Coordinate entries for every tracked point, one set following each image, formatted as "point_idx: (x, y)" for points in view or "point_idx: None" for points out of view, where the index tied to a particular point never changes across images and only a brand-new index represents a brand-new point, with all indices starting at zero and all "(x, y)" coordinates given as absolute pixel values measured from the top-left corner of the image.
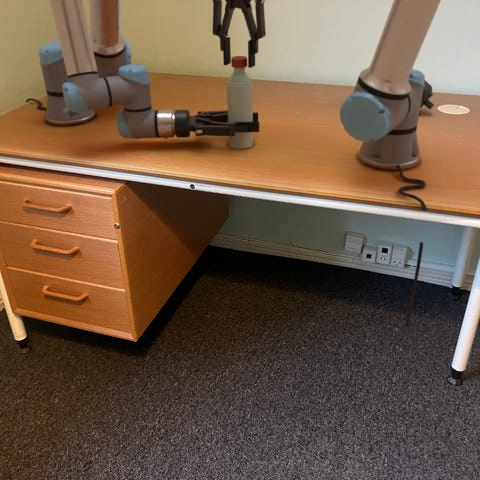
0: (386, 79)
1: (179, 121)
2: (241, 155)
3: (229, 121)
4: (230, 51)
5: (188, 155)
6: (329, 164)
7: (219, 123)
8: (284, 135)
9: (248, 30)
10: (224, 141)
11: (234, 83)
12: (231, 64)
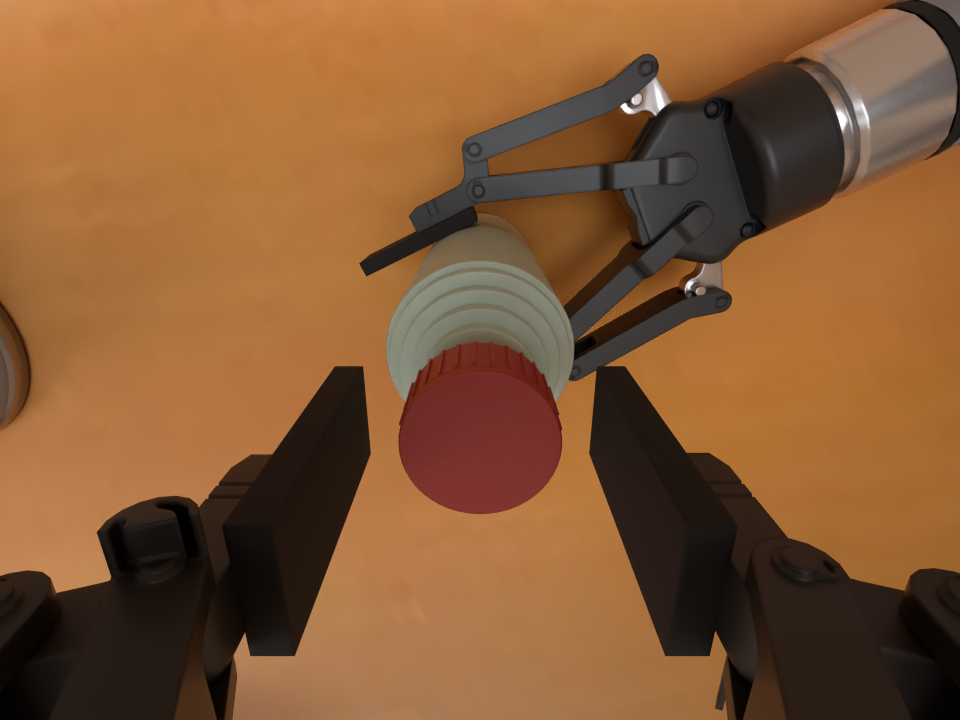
0: None
1: (772, 77)
2: (424, 153)
3: (517, 238)
4: (614, 520)
5: (645, 51)
6: (65, 210)
7: (548, 174)
8: None
9: (178, 690)
10: (558, 269)
11: (479, 271)
12: (545, 379)
